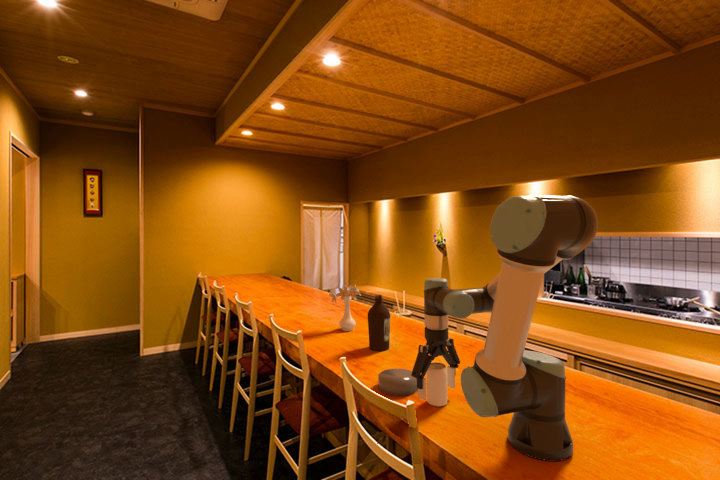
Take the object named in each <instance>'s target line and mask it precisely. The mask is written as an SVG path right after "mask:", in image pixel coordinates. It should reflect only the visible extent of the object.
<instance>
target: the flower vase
mask: <svg viewBox="0 0 720 480" xmlns="http://www.w3.org/2000/svg"><path fill="white" fill-rule="evenodd" d="M337 289H338V291H339V292H338V293H336V294H335V293H334V292H333V291H332V289H330V293H329V297H331V302H332V303H335V304H337V298H339V297H340V300H341V301H343V302H344V309H343V310H344V312H343V316H342V318H341V319H339V320H340V321H339V323H338V324H339V327H340V328H341V330H342V331H343V332H350V331H353V330H354V328H355V327H356V325H357V323H356V320H355V319H354V318H353V317H352V316H353V315H352V314H351V305H350V304H351V303H350V302H351V300H352V299H353V300H354V301H358V295H359V296H362V294H361V292H360V289H359V288H357V285H356V284H354V286H353V285H352V284H350V285H349V286H347V284H343V285H342V287H340V286H339V287H338V288H337Z"/></svg>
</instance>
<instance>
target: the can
mask: <svg viewBox="0 0 720 480" xmlns="http://www.w3.org/2000/svg"><path fill="white" fill-rule="evenodd" d="M426 402H427V403H428V404H429V405H430V406H432V407H437V408H441V407H444V406H446V405H447V404H448V386H447V365H446V364H445V363H442V362H431V364H430V366H429V368H428V370H427V372H426Z"/></svg>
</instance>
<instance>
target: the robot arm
mask: <svg viewBox="0 0 720 480" xmlns="http://www.w3.org/2000/svg"><path fill="white" fill-rule="evenodd" d="M598 227H599V220H598V216H597V213H596V211H595V209H594V207H592V205H590V204H589V203H588V202H587V201H586V200H585V199H583V198H580V197H577V196H573V195H540V194H539V195H538V194H524V195H515V196H511V197H508V198H506V199H505V200H504V201H502V202H501V203H500V204H499V205H498V206H497V208H496V209H495V210H494V212H493V215H492V216H491V221H490V227H489V233H490V234H491V237H490V239H491V241H492V243H493V245H494V246H495V248H496V249H497V250H496V253H497V256H498V257H499V258H500V259H501V260H502V262H501V267H500V272H499V273H498V274H496V275H495V277H494V278H492V279H491V280H490V281H489V282H488V283H486V284H485V285H484V286H482V287H472V288H458V289H453V288H449V286H450V285H449V283H448V282H449V281H448V280H447V279H446V278H443V277H442V278H441V277H432V278H426V279H425V280H424V284H423V303H424V304H423V305H424V306H423V309H424V326H425V327H424V339H425V340H426V343H425V344H424V345H422V344H419V345H418V351H417V354H416V358H415V362H414V365H413V367H412V370H411V371H412V374H411V376H412V377H415V378H417V388H418V390H417V397H418V398H419V399H422V400H423V401H425V400H426V401H427V378H425V376H426V375H427V370H428V368H429V366H430V364H431V363H433V361H434V360H435V359H436V358H437V357H439V356H440V357H443V359H444V361H445V362H446V363H447V365H446V370H447V387H450V388H452V389H455V388H456V375H457V374H456V373H457V372H456V369H459V365H460V364H461V360H460V358H459V355H458V352H457V350H456V346H455V344H454V339H453V338H451V337H449V328H448V327H449V316H450V317H453V318H454V319H455V318H456V319H466V318H468V317H469V316H471V315H475V314H482V313H483V314H484V313H491V314H490V318H489V323H488V327H487V333H486V338H485V342H484V347H483V348H482V349H480V350H478V352H477V353H476V355H475V357H474V362H473V365H472V366H467V367H466V368H464V369H463V370H462V371H461V375H460V385H461V391H462V393H463V396H464V398H465V400H466V402H467V405H468V406H469V407H470V409H471V410H472V412H473V413H474V414H476V415H477V416H478V417H481V418H491V417H492V418H493V417H494V418H497V417H498V416H503V415H510V414H512V417H511V420H510V422H509V425H508V428H507V440H508V442H509V444H510V445H511V446H512V447H513V448H514V449H515V448H516V450H517V451H519V452H520V453H521V452H522V454H523V453H524V455H525V454H527V455H529V456H528V457H530V456H532V457H531V458H533V457H536V458H540V459H545V460H544V461H546V460H561V459H565V458H567V459H569V458H570V457H569V456H572V455H573V454H572V453H574V441H573V438H572V436H571V435H572V434H571V432H570V429H569V426H568V423H567V420H566V379H567V376H566V371H565V370H566V368H565V365H564V363H563V361H562V360H561V359H559V358H557V357H555V356H553V355H550V354H547V353H543V352H539V351H533V350H527V349H526V345H527V339H528V336H529V333H530V329H531V324H532V321H533V316H534V313H535V309H536V306H537V300H538V297H539V293H540V289H541V285H542V282H543V277H544V275H545V274H546V273H547V272H548V271H549V270H551V269H552V268H553V267H555V266H556V265H558V264H559V263H560V262H562V261H563V260H565V261H566V260H571V259H573V258H575V257H576V256H577V255H578V254H581V252H582V251H584V250H585V249H586V248H587V247H589V245H590V244H591V243H592V242H593V241H594V239H595V238H596V236H597V233H598ZM525 349H526V350H525ZM527 455H526V456H527ZM568 457H569V458H568ZM536 458H535V459H536ZM540 459H539V460H540ZM565 460H566V459H565ZM561 461H562V460H561Z"/></svg>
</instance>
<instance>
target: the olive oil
mask: <svg viewBox="0 0 720 480" xmlns="http://www.w3.org/2000/svg"><path fill="white" fill-rule="evenodd" d="M374 296H375V297H374V304H373V305H372V306H371V307H370V308H369V309H368V312H367V327H368V328H367V329H368V343H369V345H368V347H369V349H370V350H371V351H374V352H383V351H384V352H385V351H388V350H389V349H390V341H391V340H390V337H391V335H390V334H391V330H390V329H391V328H390V327H391V313H390V310H389V309H388V307H387V306H386V305H385V304H384V303H383V295H382V294H375V295H374Z"/></svg>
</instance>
